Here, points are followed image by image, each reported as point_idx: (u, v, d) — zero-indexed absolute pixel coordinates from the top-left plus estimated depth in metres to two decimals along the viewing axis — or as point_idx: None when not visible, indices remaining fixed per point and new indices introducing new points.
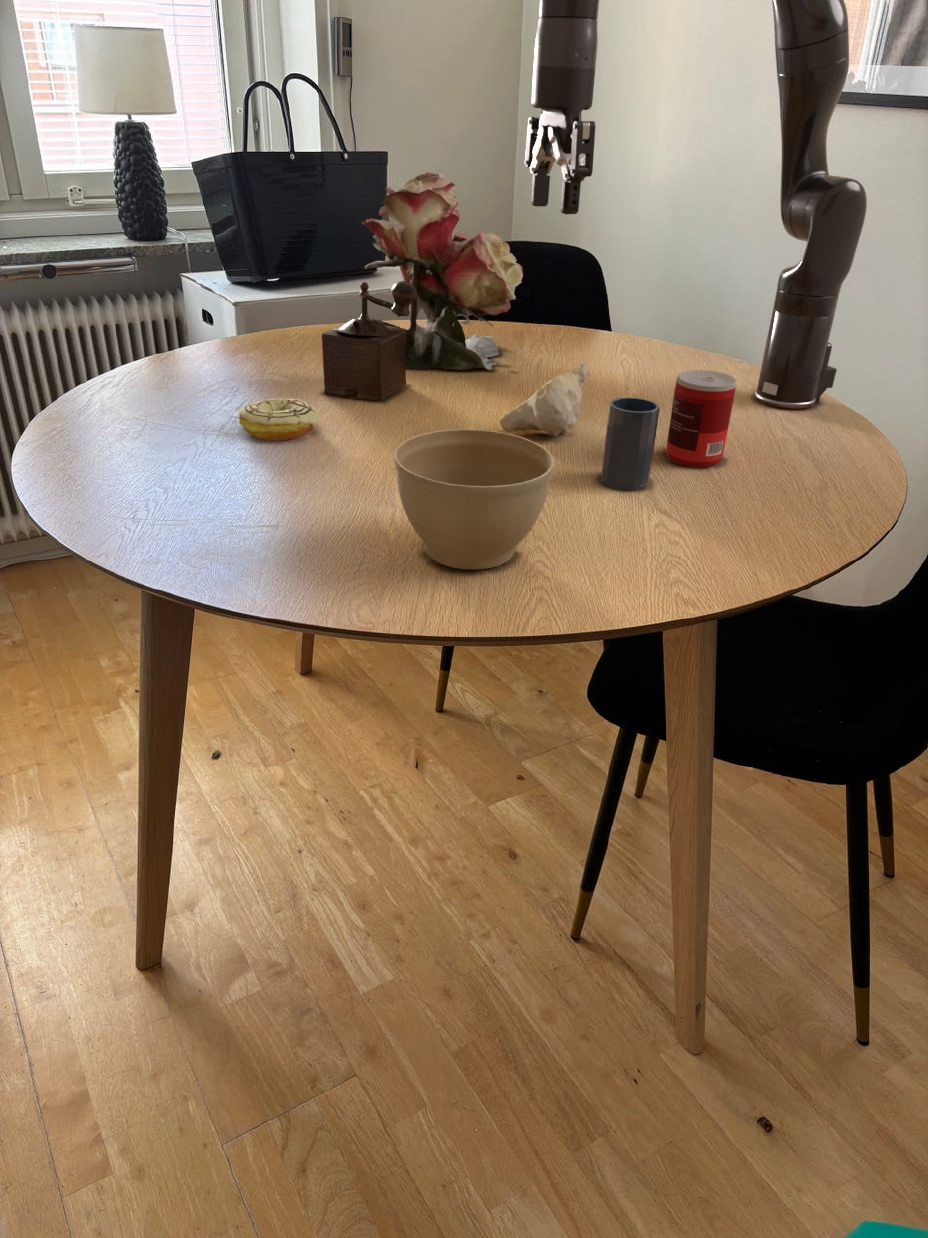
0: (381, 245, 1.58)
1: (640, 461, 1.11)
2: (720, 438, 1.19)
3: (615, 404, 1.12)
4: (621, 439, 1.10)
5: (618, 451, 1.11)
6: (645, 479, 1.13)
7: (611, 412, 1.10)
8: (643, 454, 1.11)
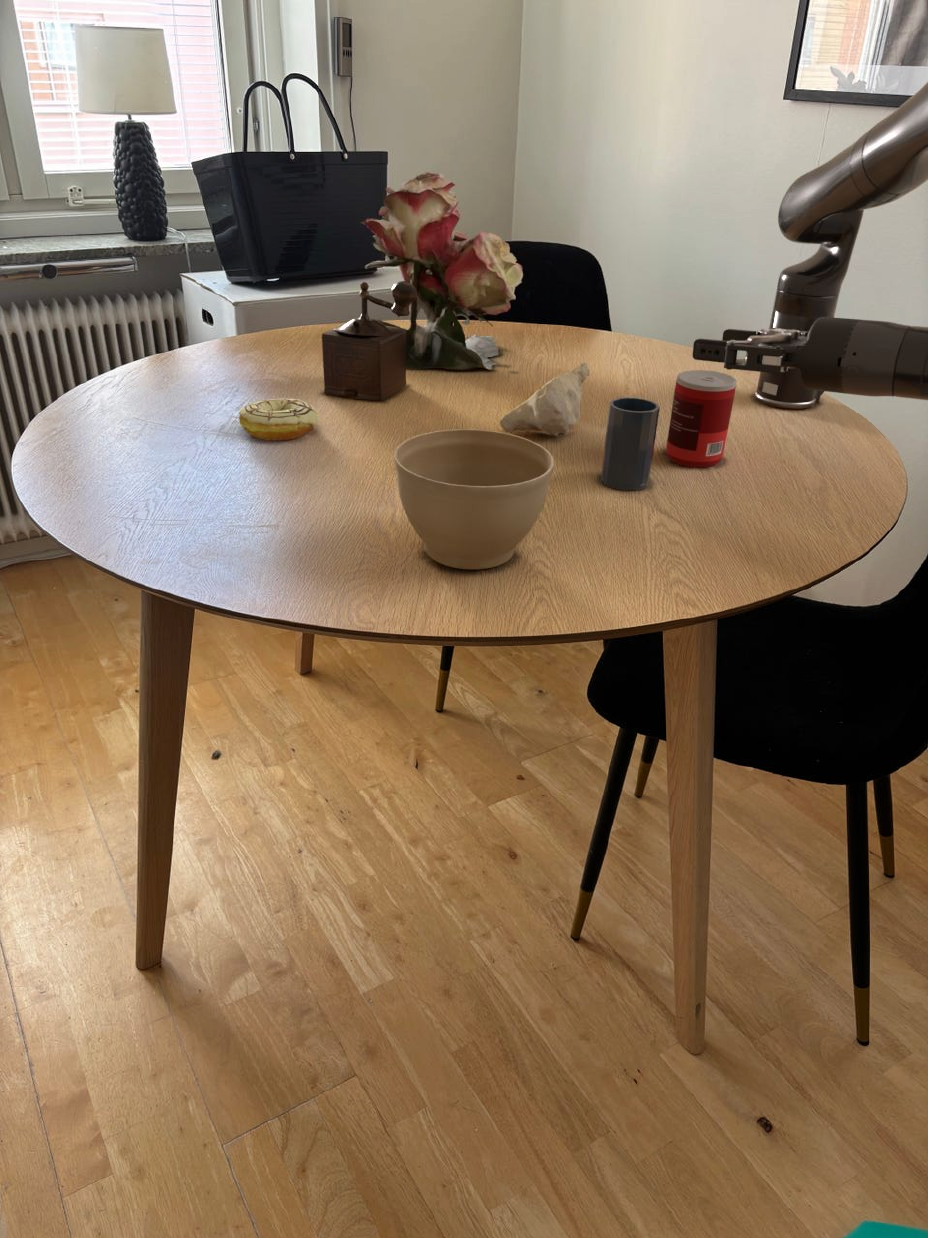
0: (381, 245, 1.58)
1: (640, 461, 1.11)
2: (720, 438, 1.19)
3: (615, 404, 1.12)
4: (621, 439, 1.10)
5: (618, 451, 1.11)
6: (645, 479, 1.13)
7: (611, 412, 1.10)
8: (643, 454, 1.11)
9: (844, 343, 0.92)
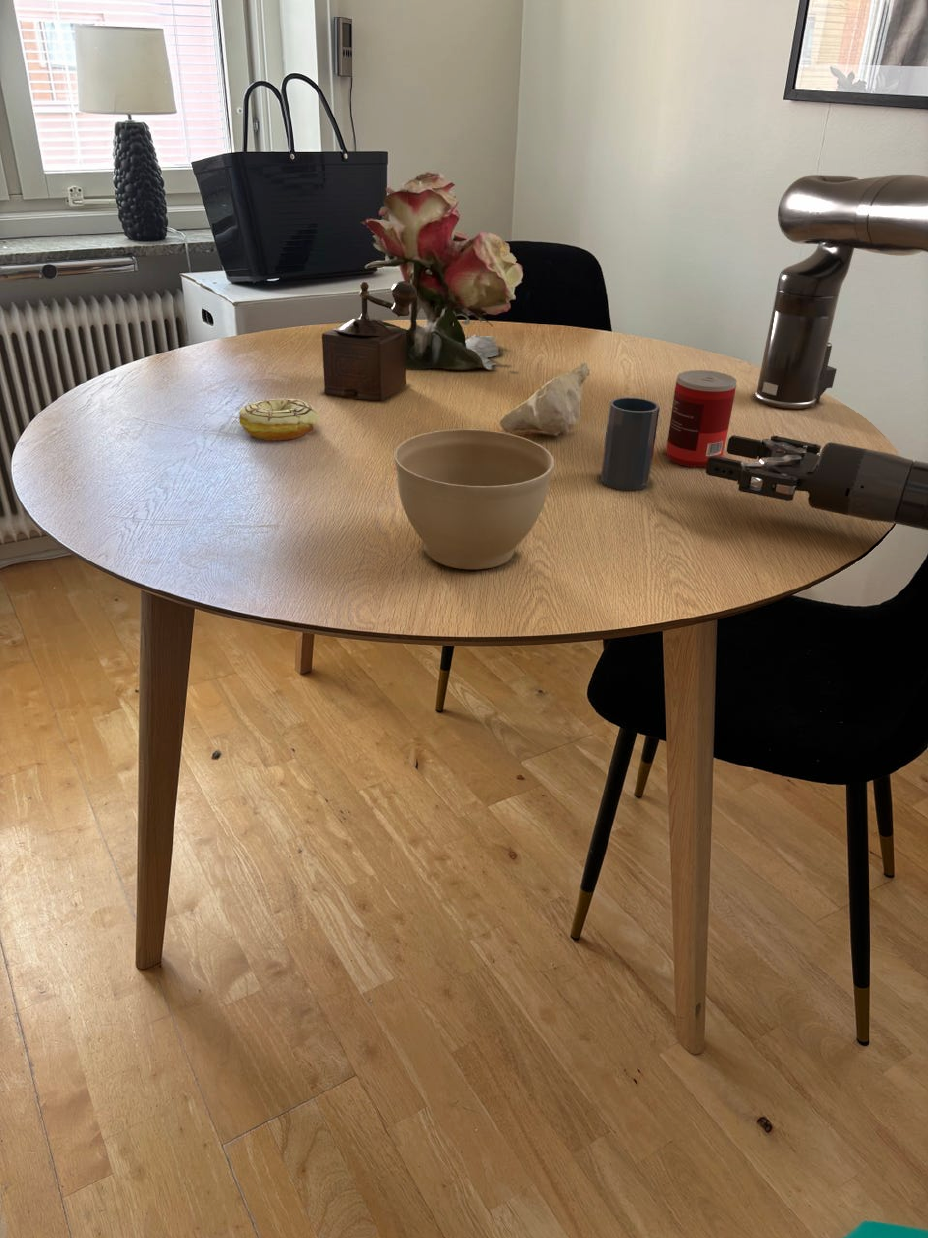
0: (381, 245, 1.58)
1: (640, 461, 1.11)
2: (720, 438, 1.19)
3: (615, 404, 1.12)
4: (621, 439, 1.10)
5: (618, 451, 1.11)
6: (645, 479, 1.13)
7: (611, 412, 1.10)
8: (643, 454, 1.11)
9: (853, 476, 0.98)
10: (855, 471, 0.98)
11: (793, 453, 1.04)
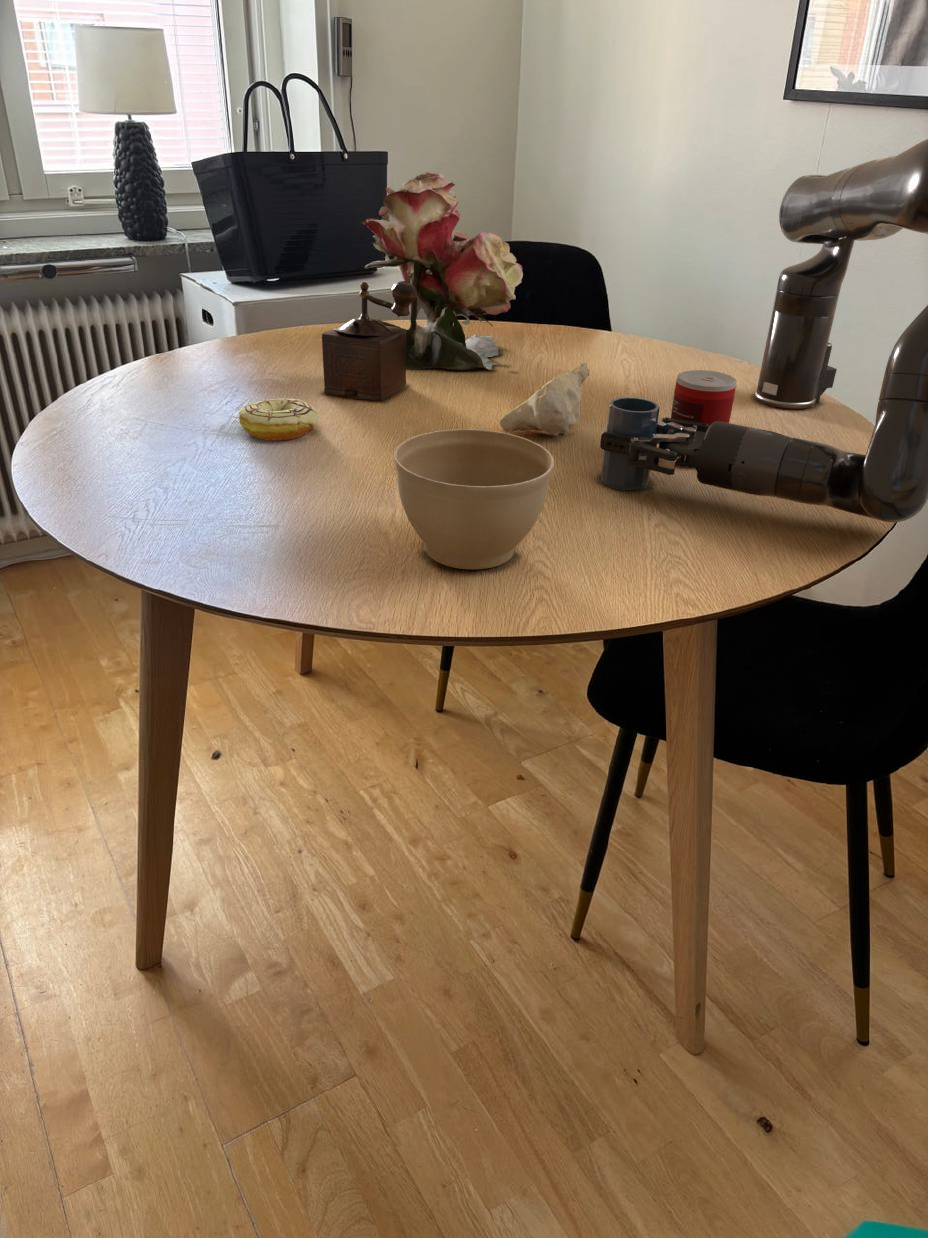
0: (381, 245, 1.58)
1: None
2: None
3: (615, 404, 1.12)
4: None
5: None
6: (645, 479, 1.13)
7: (611, 412, 1.10)
8: None
9: (734, 452, 1.03)
10: (736, 447, 1.03)
11: (684, 432, 1.10)
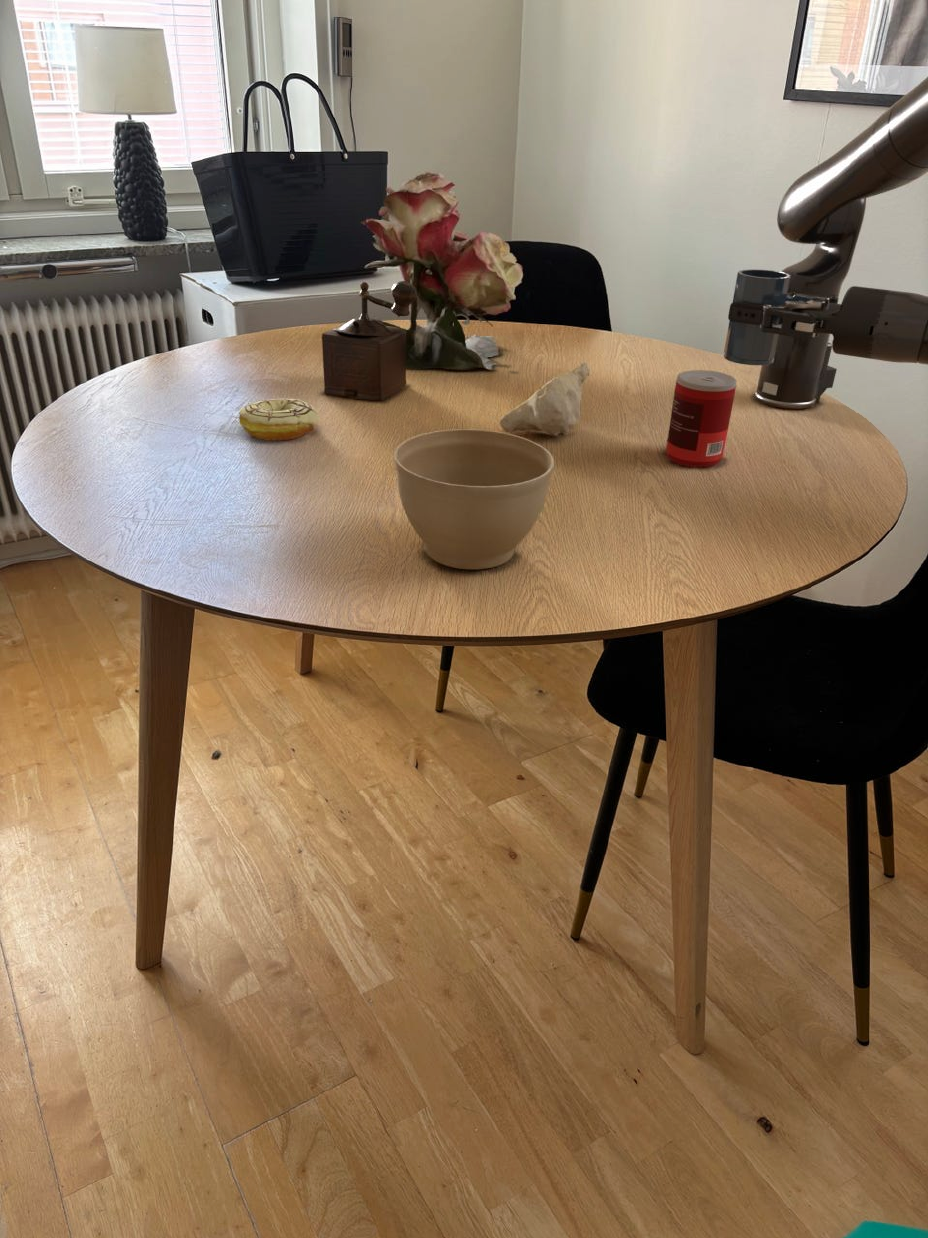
0: (381, 245, 1.58)
1: (769, 333, 1.08)
2: (720, 438, 1.19)
3: None
4: None
5: None
6: (772, 354, 1.10)
7: (740, 281, 1.06)
8: None
9: (877, 313, 1.00)
10: (879, 308, 1.00)
11: None
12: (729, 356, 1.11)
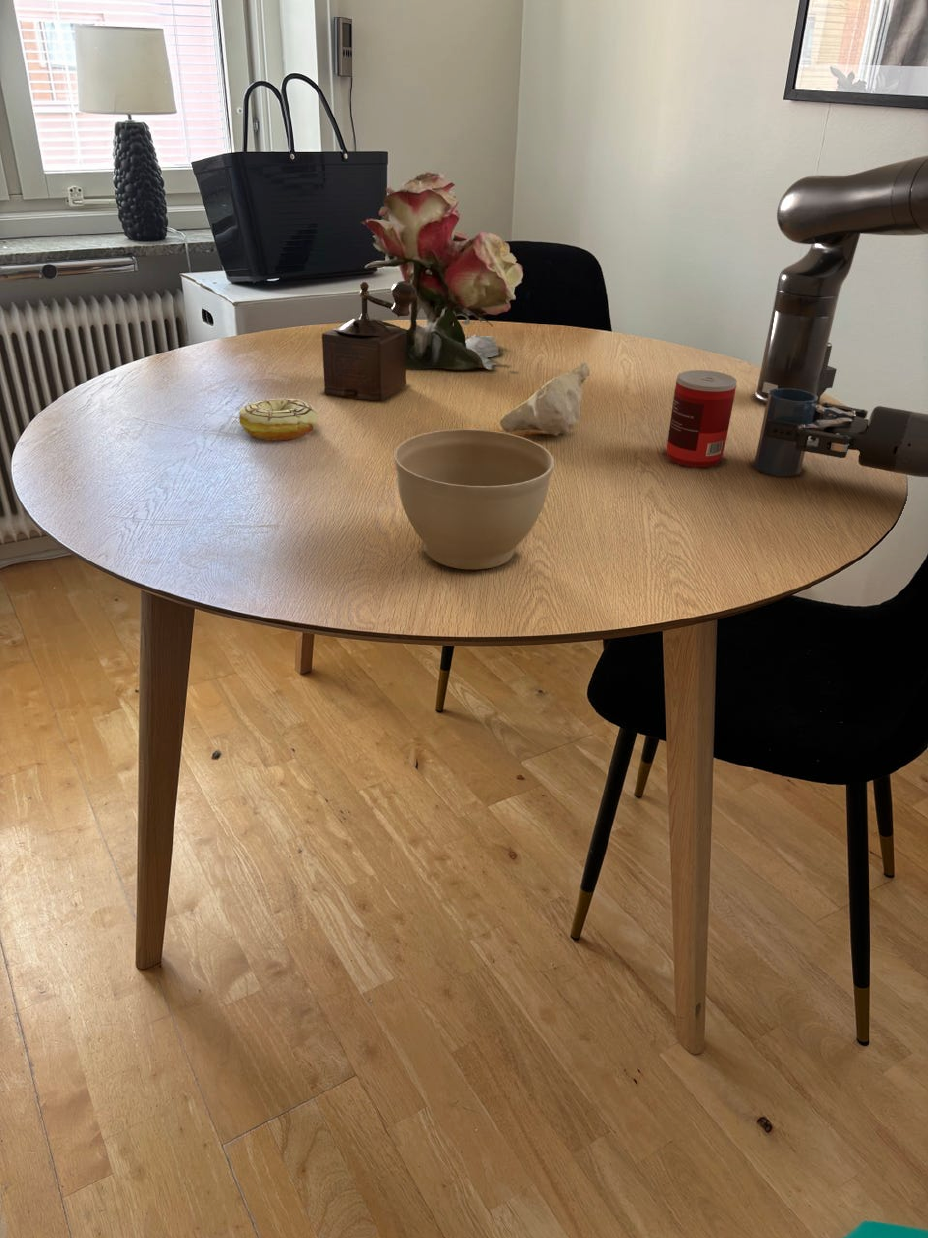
0: (381, 245, 1.58)
1: None
2: (720, 438, 1.19)
3: (772, 394, 1.18)
4: None
5: (777, 439, 1.17)
6: (800, 466, 1.19)
7: (771, 402, 1.16)
8: None
9: (900, 435, 1.09)
10: (903, 430, 1.09)
11: (844, 416, 1.15)
12: (760, 467, 1.20)
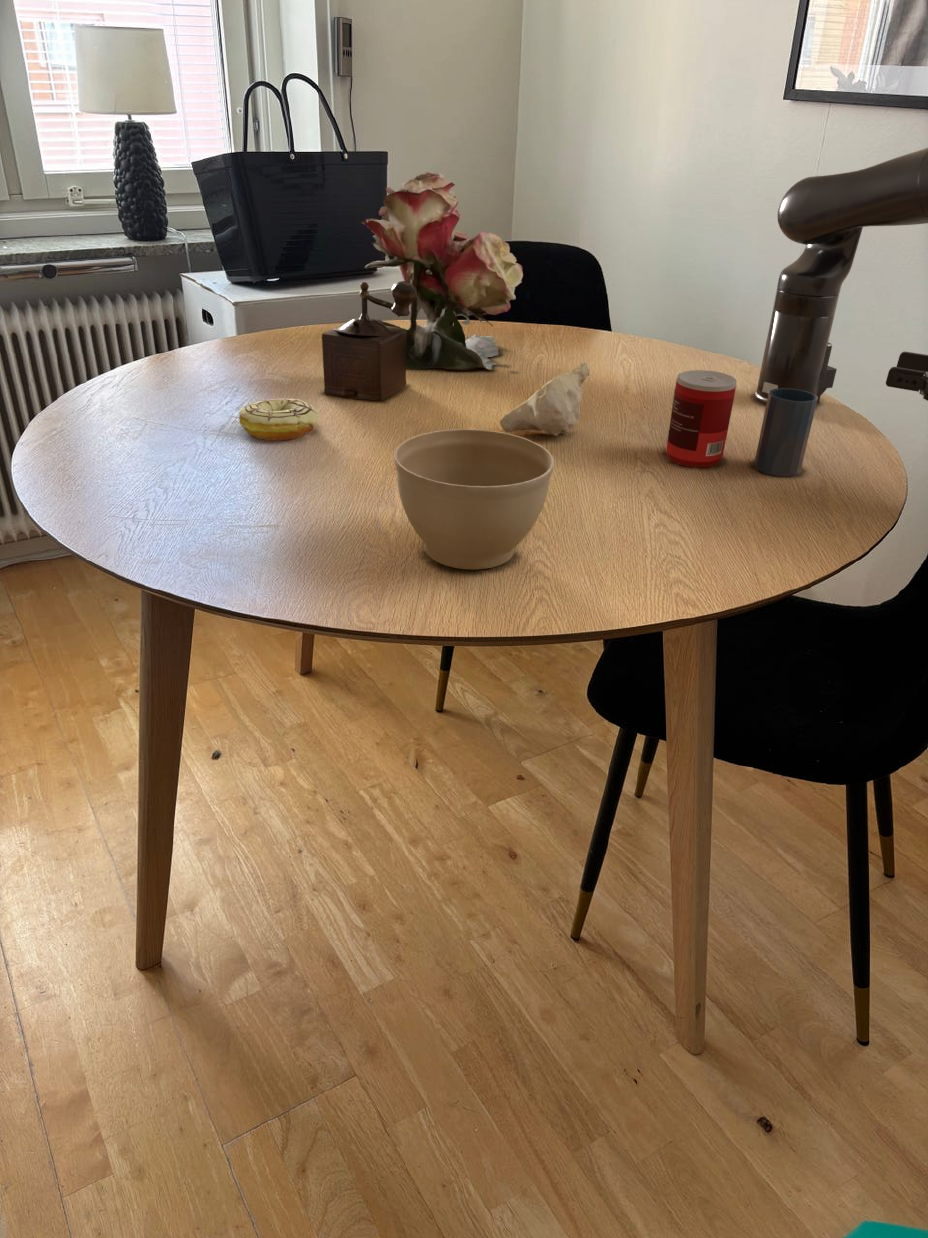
0: (381, 245, 1.58)
1: (797, 448, 1.17)
2: (720, 438, 1.19)
3: (772, 394, 1.18)
4: (781, 427, 1.16)
5: (777, 439, 1.17)
6: (800, 466, 1.19)
7: (771, 402, 1.16)
8: (801, 442, 1.17)
9: None
10: None
11: None
12: (760, 467, 1.20)
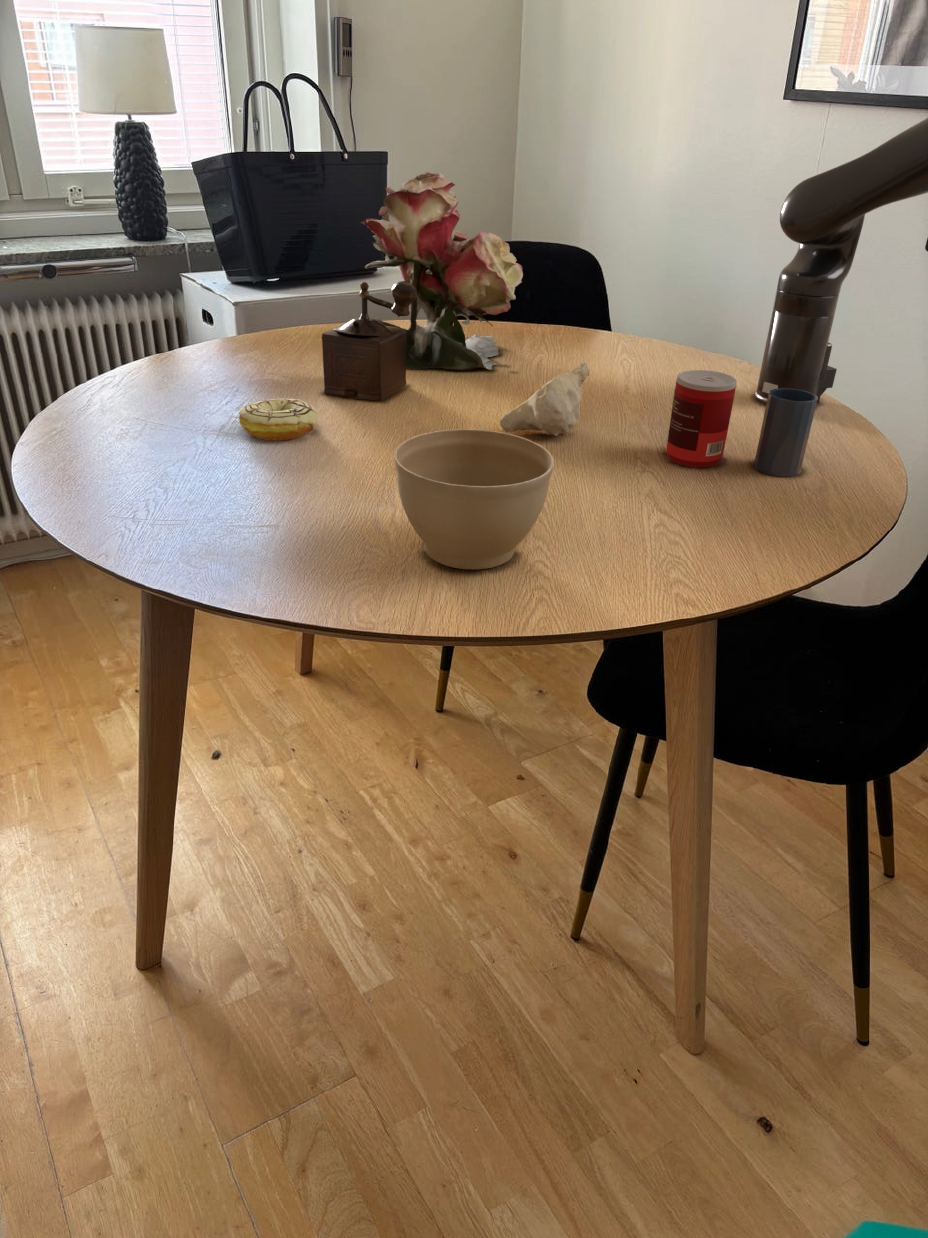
0: (381, 245, 1.58)
1: (797, 448, 1.17)
2: (720, 438, 1.19)
3: (772, 394, 1.18)
4: (781, 427, 1.16)
5: (777, 439, 1.17)
6: (800, 466, 1.19)
7: (771, 402, 1.16)
8: (801, 442, 1.17)
9: None
10: None
11: None
12: (760, 467, 1.20)
